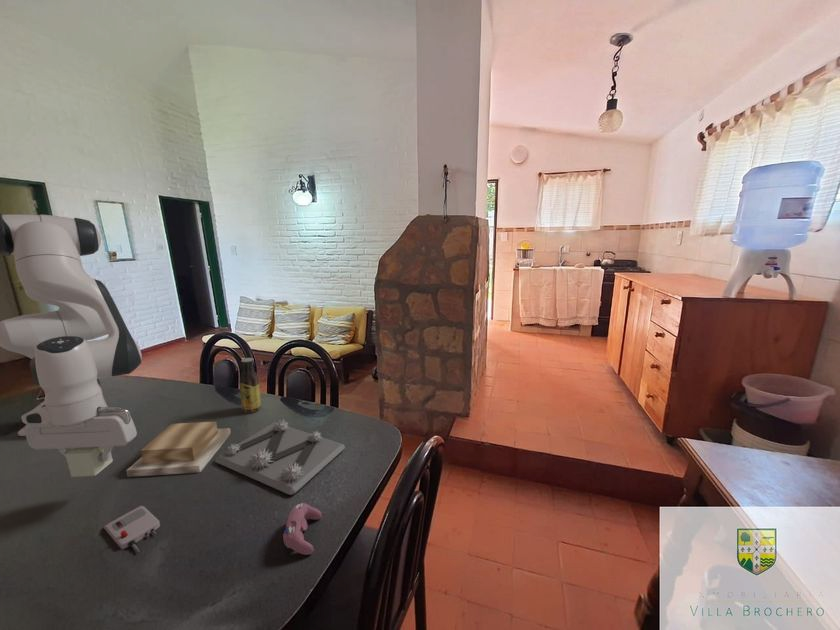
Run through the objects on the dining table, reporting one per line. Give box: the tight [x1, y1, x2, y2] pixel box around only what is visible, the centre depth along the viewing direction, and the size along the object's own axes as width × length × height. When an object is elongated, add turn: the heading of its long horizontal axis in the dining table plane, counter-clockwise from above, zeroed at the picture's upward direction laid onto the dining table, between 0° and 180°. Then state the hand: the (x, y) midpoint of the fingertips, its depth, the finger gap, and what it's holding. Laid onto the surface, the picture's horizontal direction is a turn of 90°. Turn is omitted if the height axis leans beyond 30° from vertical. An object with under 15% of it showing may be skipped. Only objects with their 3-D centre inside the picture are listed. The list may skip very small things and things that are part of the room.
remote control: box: [103, 505, 161, 553], centre depth 70 cm, size 7×16×3 cm, turn 59°
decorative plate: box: [214, 418, 346, 496], centre depth 94 cm, size 30×22×7 cm
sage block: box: [64, 447, 114, 478], centre depth 76 cm, size 5×5×6 cm
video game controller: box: [282, 502, 323, 556], centre depth 68 cm, size 10×5×7 cm, turn 6°
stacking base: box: [125, 421, 231, 478], centre depth 94 cm, size 18×18×6 cm
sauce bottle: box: [238, 357, 262, 414], centre depth 117 cm, size 6×6×20 cm
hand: (90, 460), depth 76 cm, fingers closed on sage block, 5 cm apart
